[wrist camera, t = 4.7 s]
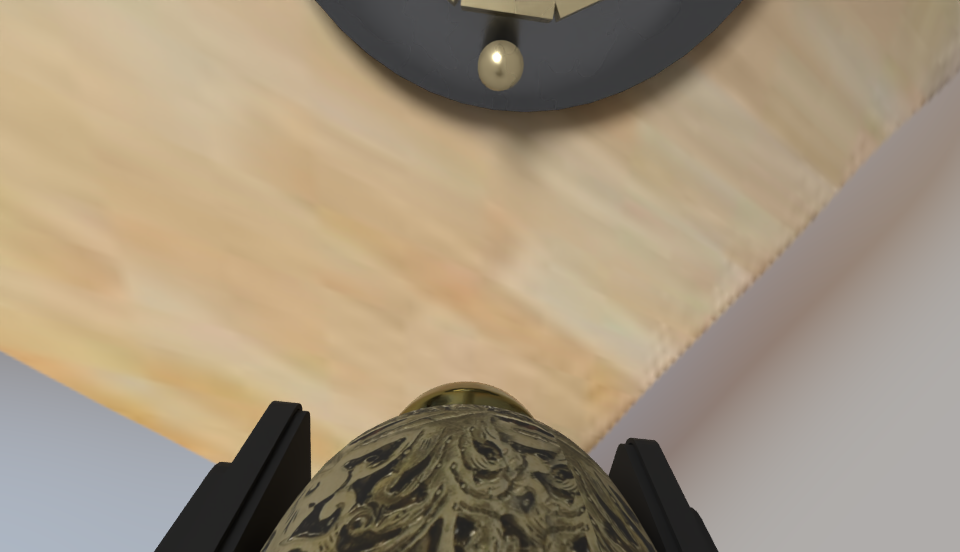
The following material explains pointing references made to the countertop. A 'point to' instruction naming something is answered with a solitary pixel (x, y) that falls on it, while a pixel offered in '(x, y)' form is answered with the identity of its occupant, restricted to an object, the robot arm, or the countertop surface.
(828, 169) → the countertop surface
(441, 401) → the dark hollow rounded piece
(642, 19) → the carrier plate
